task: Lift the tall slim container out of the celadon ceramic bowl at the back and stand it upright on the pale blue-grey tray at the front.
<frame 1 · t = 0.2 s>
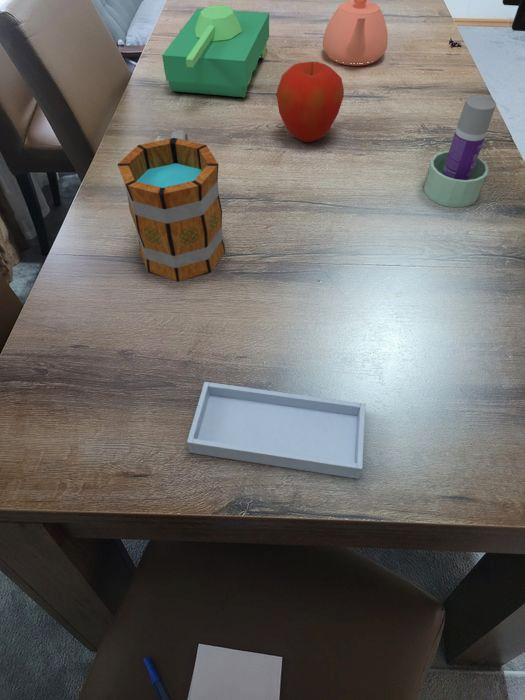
hand: (518, 17, 69), 25 cm above the table, tool pointing down, fingers open, 9 cm apart
bowl: (450, 191, 86), on the table
mug: (185, 239, 79), on the table
teapot: (353, 58, 121), on the table
apple: (307, 138, 98), on the table
container: (451, 189, 86), resting on bowl
tray: (278, 433, 57), on the table
toy tank: (217, 81, 114), on the table
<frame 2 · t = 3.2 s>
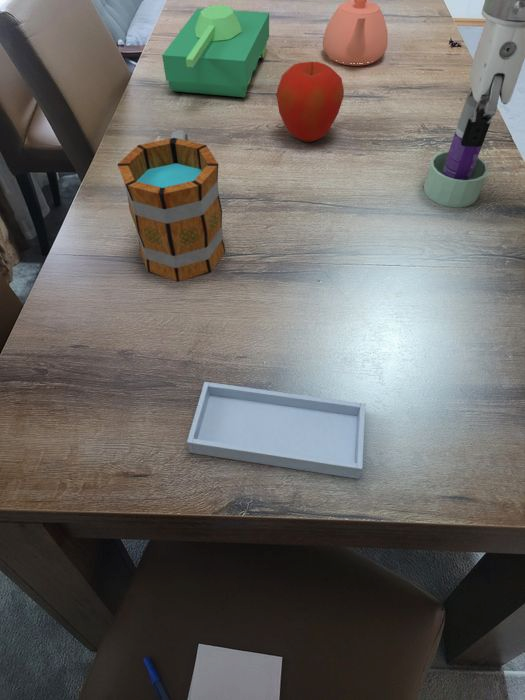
hand: (469, 135, 78), 10 cm above the table, tool pointing down, fingers closed on container, 4 cm apart
container: (451, 189, 86), resting on bowl, touching gripper
everything else where it was.
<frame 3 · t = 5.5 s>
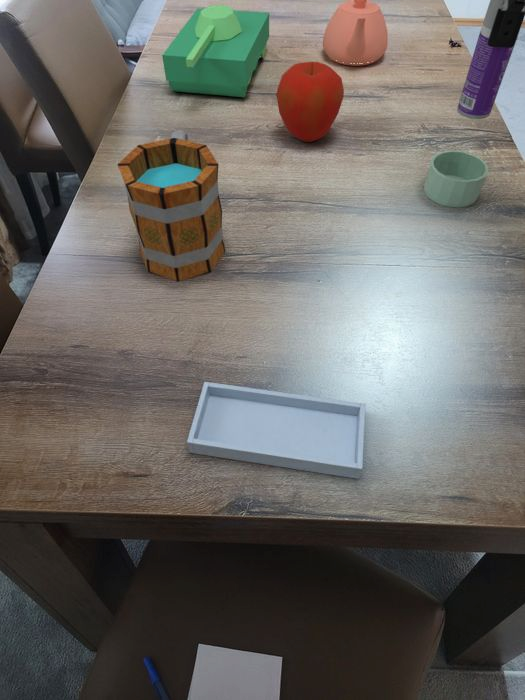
hand: (498, 36, 64), 26 cm above the table, tool pointing down, fingers closed on container, 4 cm apart
container: (472, 112, 72), point 16 cm above the table, touching gripper
everything else where it was.
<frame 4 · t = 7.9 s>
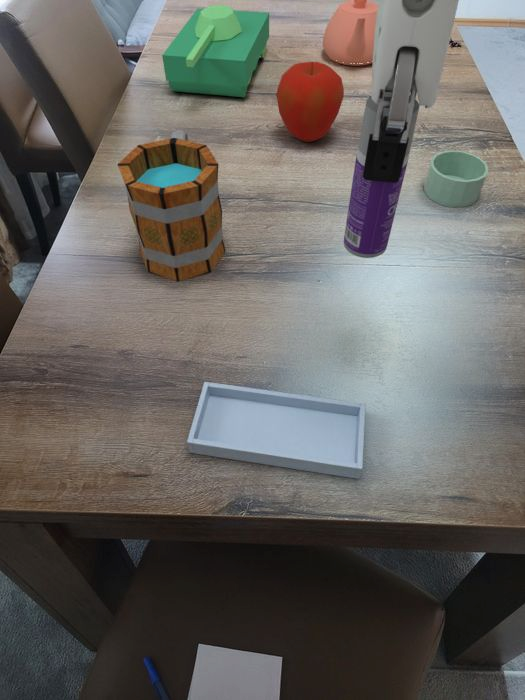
hand: (382, 161, 45), 26 cm above the table, tool pointing down, fingers closed on container, 4 cm apart
container: (364, 245, 53), point 16 cm above the table, touching gripper
everything else where it was.
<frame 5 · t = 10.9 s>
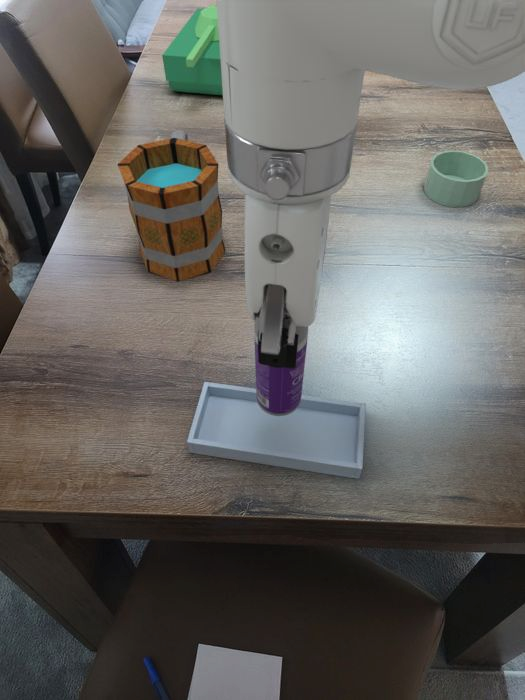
hand: (281, 337, 43), 18 cm above the table, tool pointing down, fingers closed on container, 4 cm apart
container: (278, 397, 51), point 8 cm above the table, touching gripper
everything else where it was.
when the fingers open (10 cm above the table, at t = 13.0 s): container stays where it is, resting on tray.
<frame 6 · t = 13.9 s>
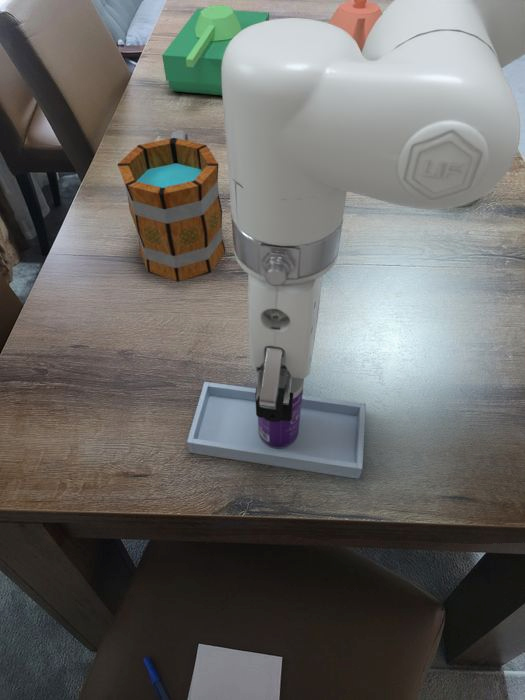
hand: (281, 373, 48), 12 cm above the table, tool pointing down, fingers open, 9 cm apart
container: (278, 431, 57), resting on tray
everything else where it was.
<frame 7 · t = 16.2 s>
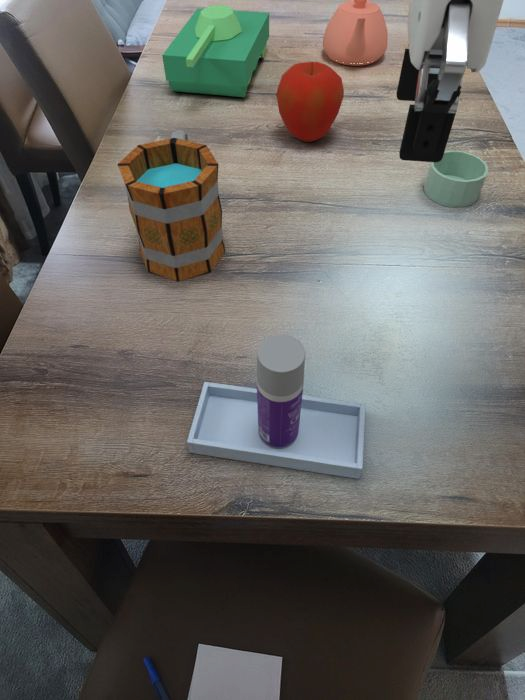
hand: (416, 127, 41), 30 cm above the table, tool pointing down, fingers open, 9 cm apart
nothing on the table moved.
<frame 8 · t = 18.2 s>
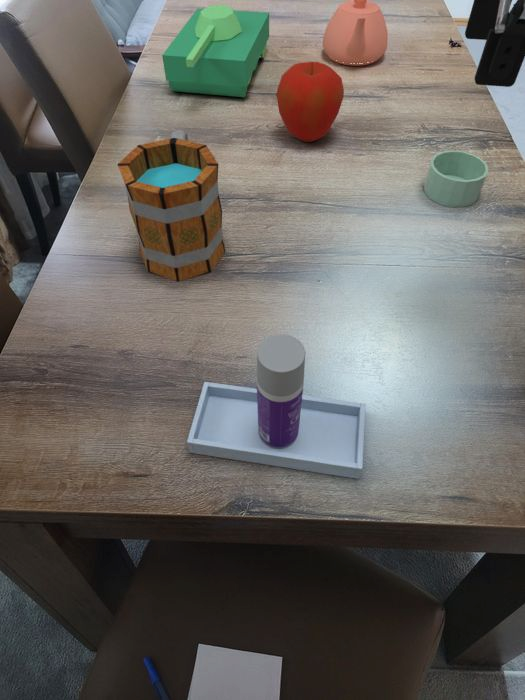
hand: (486, 59, 44), 32 cm above the table, tool pointing down, fingers open, 9 cm apart
nothing on the table moved.
at the end: container inside the target area in the tray (0.0 cm from its centre), point 0.4 cm above the tray's base; container tilted 0°; the gripper is holding nothing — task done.
